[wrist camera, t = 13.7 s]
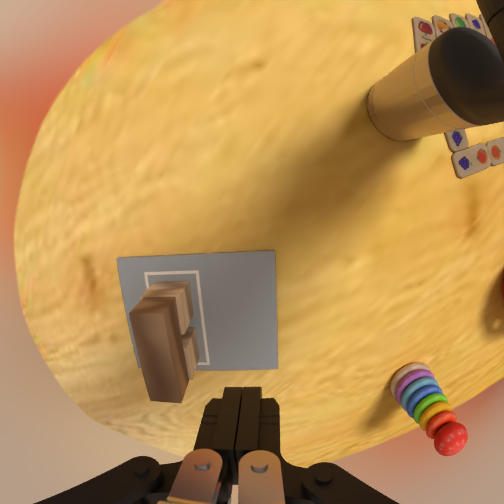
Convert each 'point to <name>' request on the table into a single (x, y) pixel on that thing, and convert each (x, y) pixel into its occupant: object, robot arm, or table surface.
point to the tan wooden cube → (182, 298)
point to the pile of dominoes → (462, 156)
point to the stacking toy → (428, 407)
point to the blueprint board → (217, 303)
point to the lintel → (160, 348)
